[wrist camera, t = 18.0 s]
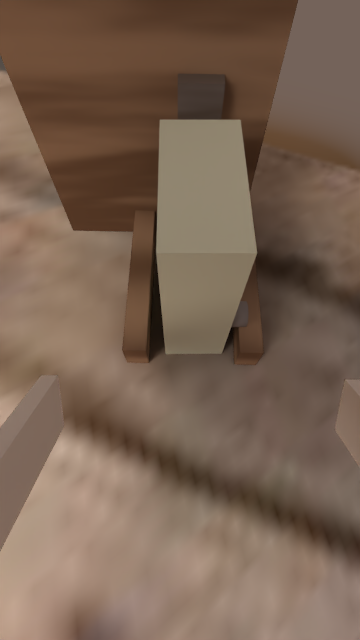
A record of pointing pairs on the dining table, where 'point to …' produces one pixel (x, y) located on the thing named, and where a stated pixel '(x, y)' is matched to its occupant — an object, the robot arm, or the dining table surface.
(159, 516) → the dining table surface
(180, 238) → the block
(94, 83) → the wooden stand
